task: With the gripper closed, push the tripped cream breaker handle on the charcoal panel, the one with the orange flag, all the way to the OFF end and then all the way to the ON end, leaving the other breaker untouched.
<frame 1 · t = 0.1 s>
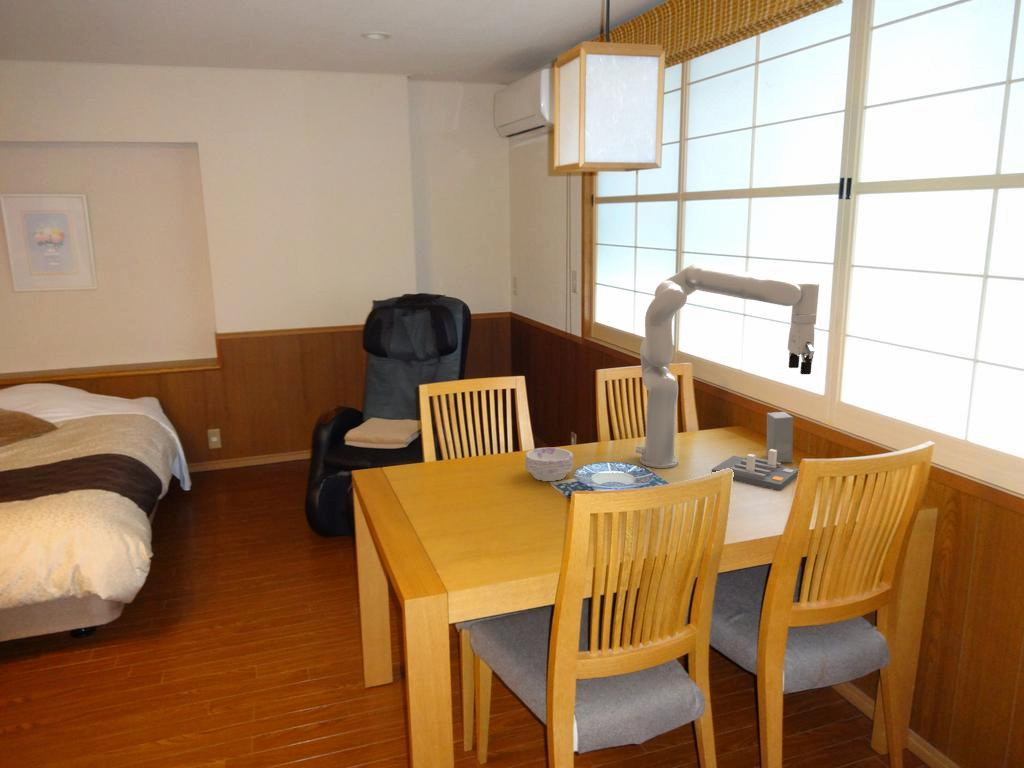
hand: (799, 370, 243), 31 cm above the table, tool pointing down, fingers open, 9 cm apart
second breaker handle: (772, 458, 237), point 5 cm above the table, slide at 7.0 cm
tripped breaker handle: (750, 463, 232), point 5 cm above the table, slide at 3.5 cm
skincare box: (777, 459, 252), on the table
breaker panel: (755, 475, 237), on the table
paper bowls: (549, 477, 237), on the table
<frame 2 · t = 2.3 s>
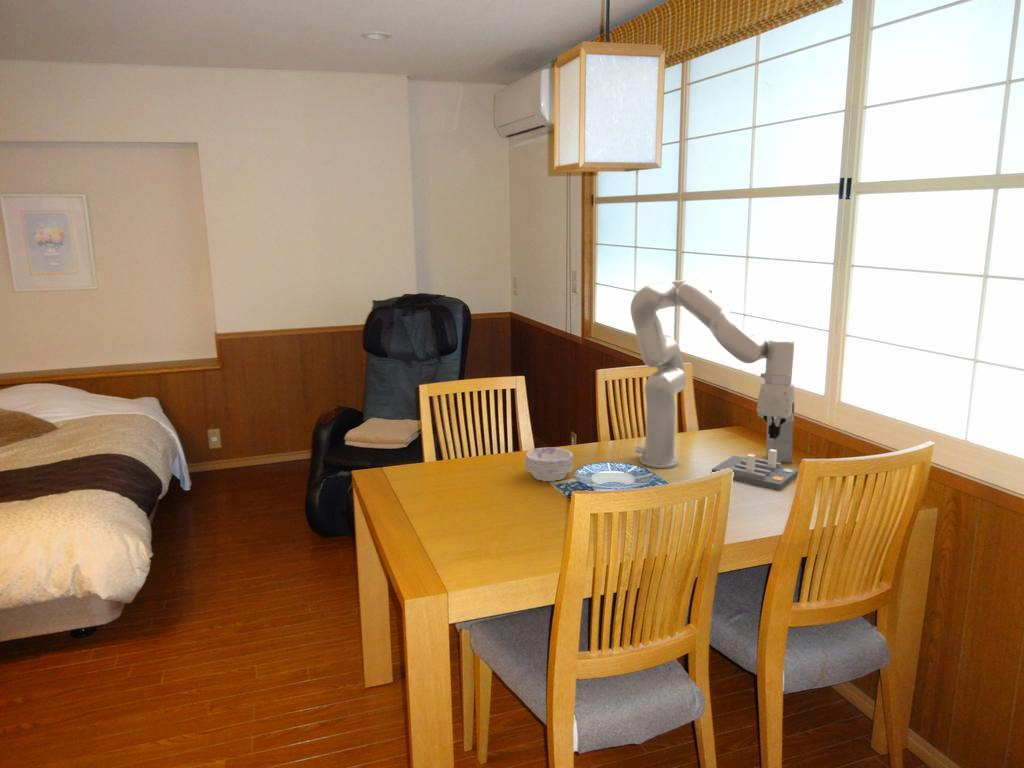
hand: (773, 437, 226), 15 cm above the table, tool pointing down, fingers closed
nothing on the table moved.
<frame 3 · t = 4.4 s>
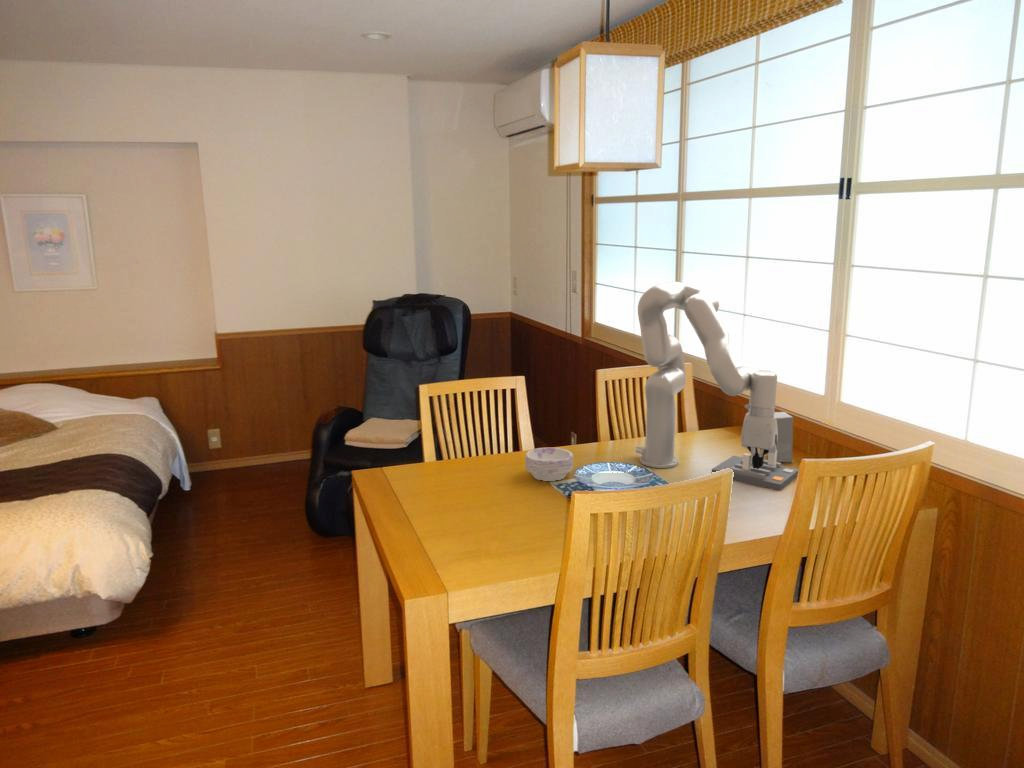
hand: (757, 467, 231), 4 cm above the table, tool pointing down, fingers closed
tripped breaker handle: (746, 462, 233), point 5 cm above the table, slide at 2.3 cm, touching gripper
everything else where it was.
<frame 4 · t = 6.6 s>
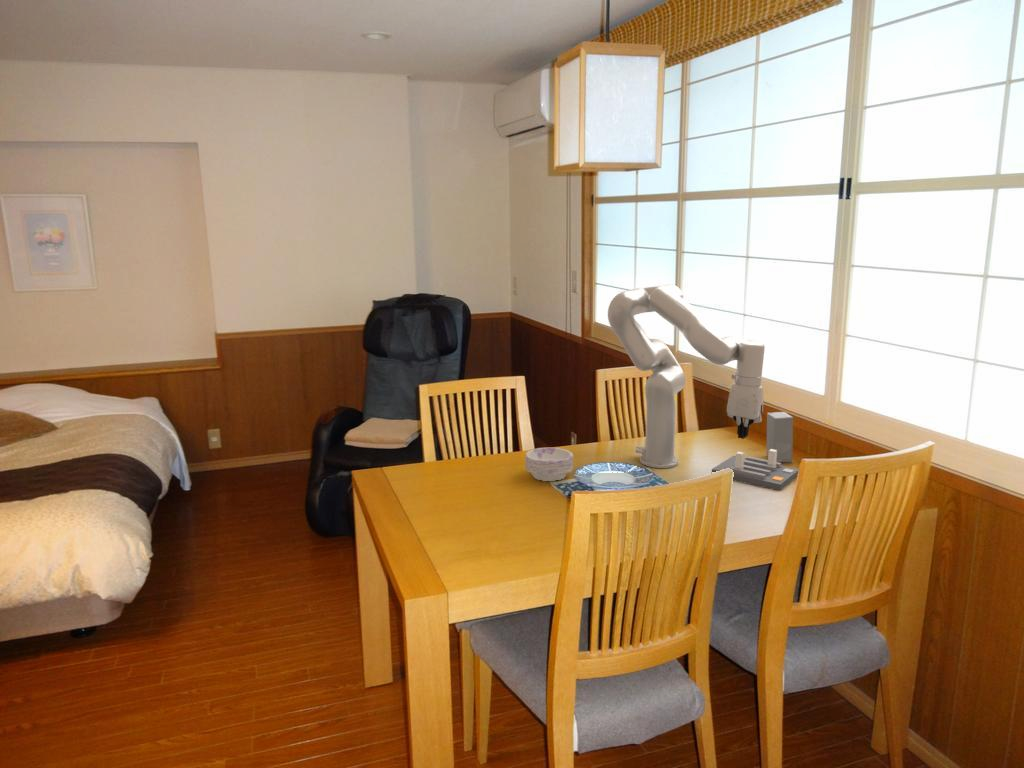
hand: (742, 437, 232), 13 cm above the table, tool pointing down, fingers closed
tripped breaker handle: (739, 461, 234), point 5 cm above the table, slide at -0.1 cm
everything else where it was.
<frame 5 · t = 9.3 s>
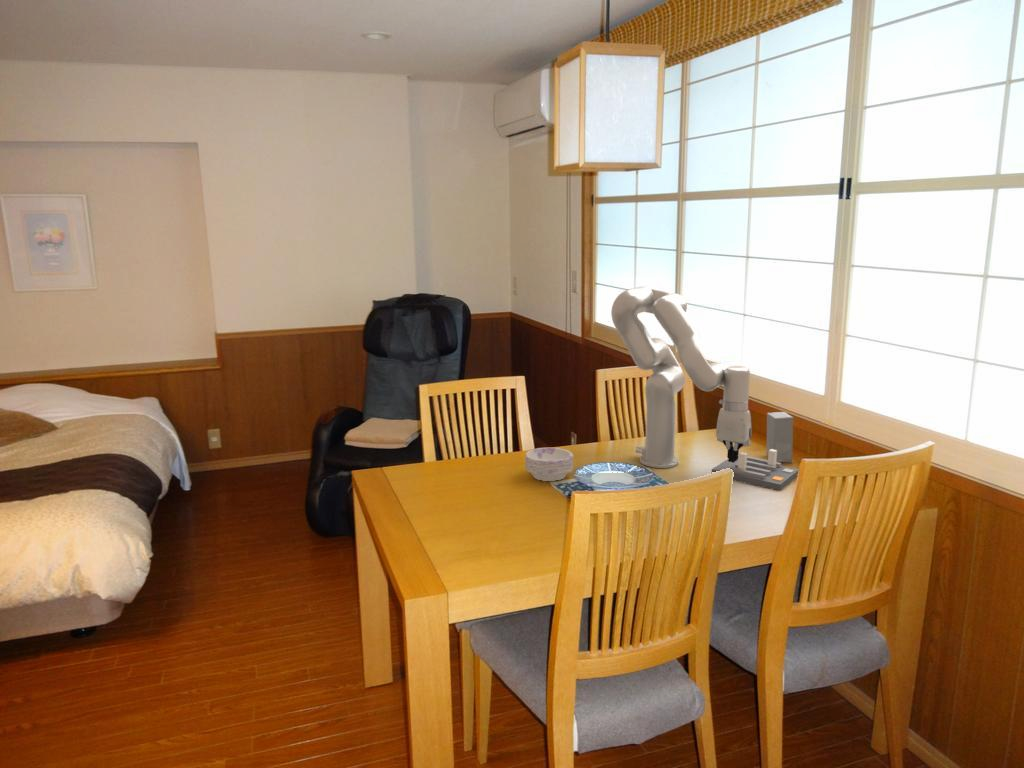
hand: (732, 461, 236), 5 cm above the table, tool pointing down, fingers closed
tripped breaker handle: (742, 462, 234), point 5 cm above the table, slide at 0.8 cm, touching gripper
everything else where it was.
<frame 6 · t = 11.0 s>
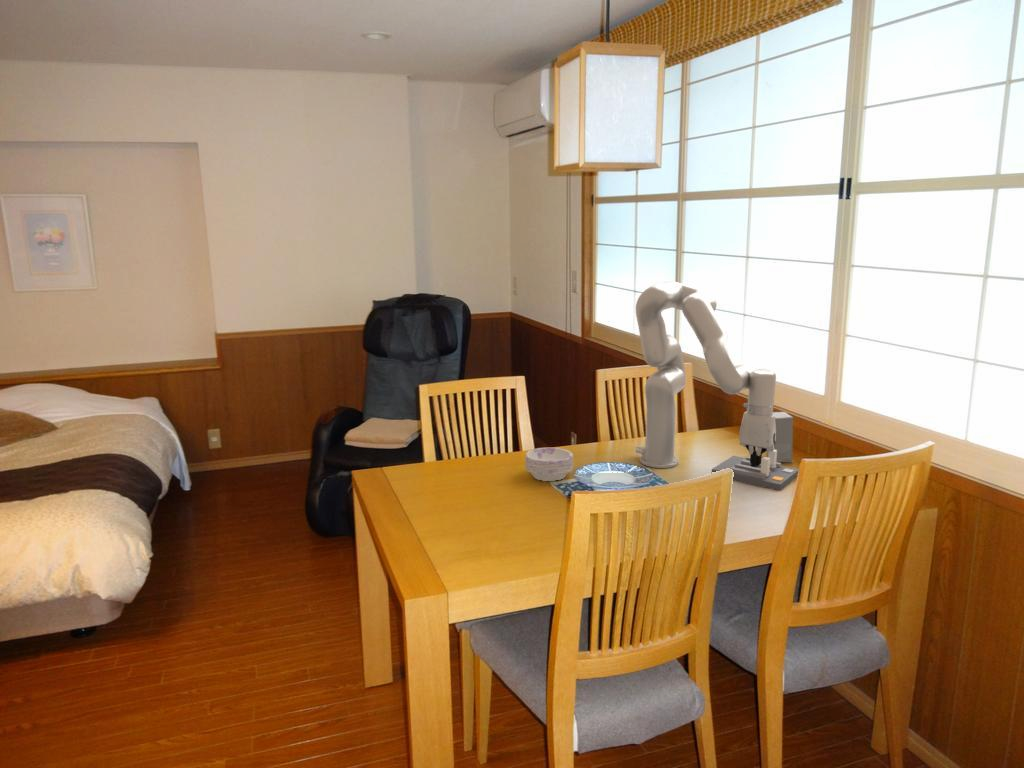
hand: (755, 465, 231), 5 cm above the table, tool pointing down, fingers closed
tripped breaker handle: (765, 466, 229), point 5 cm above the table, slide at 8.2 cm, touching gripper
everything else where it was.
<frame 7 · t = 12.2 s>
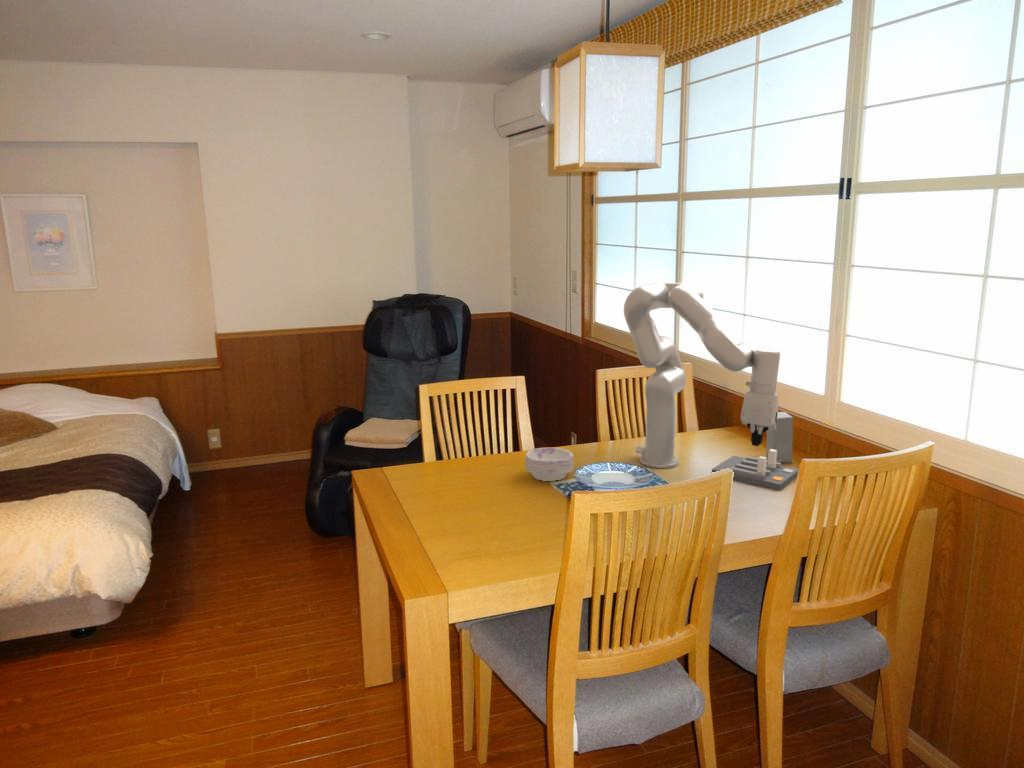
hand: (756, 444, 230), 12 cm above the table, tool pointing down, fingers closed
tripped breaker handle: (761, 466, 230), point 5 cm above the table, slide at 7.1 cm
everything else where it was.
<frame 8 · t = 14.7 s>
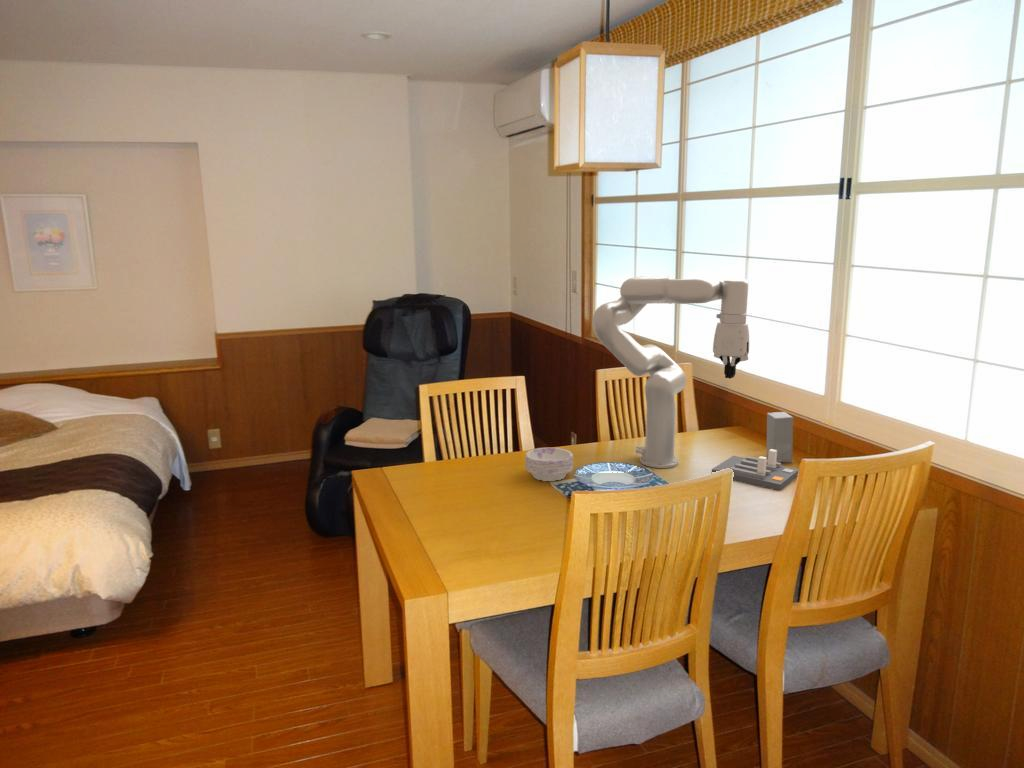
hand: (729, 377, 230), 32 cm above the table, tool pointing down, fingers closed
nothing on the table moved.
at the end: tripped breaker handle slide at 7.1 cm; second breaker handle slide at 7.0 cm; skincare box moved 0.2 cm from its start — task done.
